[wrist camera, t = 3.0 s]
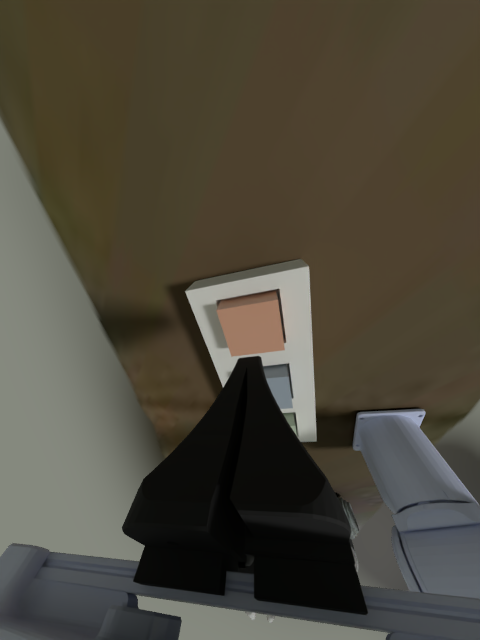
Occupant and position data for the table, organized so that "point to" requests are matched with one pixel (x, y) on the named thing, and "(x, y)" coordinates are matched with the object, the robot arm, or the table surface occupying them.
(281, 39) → the table surface
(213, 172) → the table surface
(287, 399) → the slate key
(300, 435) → the keypad
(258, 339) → the terracotta key
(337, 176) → the table surface
